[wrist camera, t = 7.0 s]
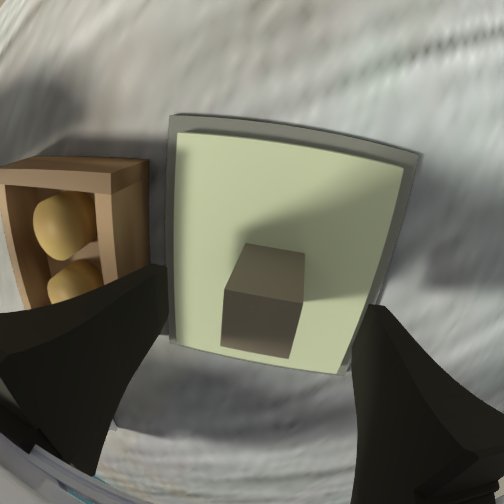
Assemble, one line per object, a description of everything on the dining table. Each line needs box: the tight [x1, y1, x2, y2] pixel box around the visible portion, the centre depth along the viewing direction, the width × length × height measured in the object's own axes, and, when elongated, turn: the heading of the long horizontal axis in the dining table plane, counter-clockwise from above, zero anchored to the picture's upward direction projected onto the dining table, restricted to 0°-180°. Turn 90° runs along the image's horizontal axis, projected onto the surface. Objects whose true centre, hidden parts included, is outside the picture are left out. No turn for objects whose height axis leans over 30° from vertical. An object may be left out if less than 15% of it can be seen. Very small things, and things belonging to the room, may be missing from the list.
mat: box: [165, 115, 419, 376], centre depth 13 cm, size 12×10×1 cm
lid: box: [174, 132, 404, 374], centre depth 11 cm, size 11×9×4 cm
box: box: [0, 156, 150, 310], centre depth 13 cm, size 10×8×3 cm
